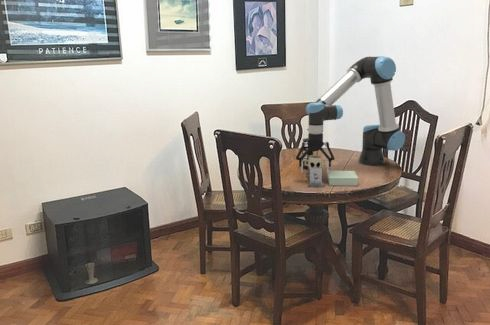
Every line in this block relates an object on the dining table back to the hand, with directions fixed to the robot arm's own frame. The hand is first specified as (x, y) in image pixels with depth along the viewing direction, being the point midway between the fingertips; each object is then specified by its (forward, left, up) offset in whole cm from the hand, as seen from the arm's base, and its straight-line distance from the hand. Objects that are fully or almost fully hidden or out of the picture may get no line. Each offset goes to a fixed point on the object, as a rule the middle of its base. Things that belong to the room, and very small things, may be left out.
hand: (314, 172), depth 239 cm
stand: (-14, +2, -4) cm, 15 cm away
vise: (0, 0, -4) cm, 4 cm away
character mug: (0, 0, -4) cm, 4 cm away
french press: (+1, -28, -4) cm, 28 cm away
